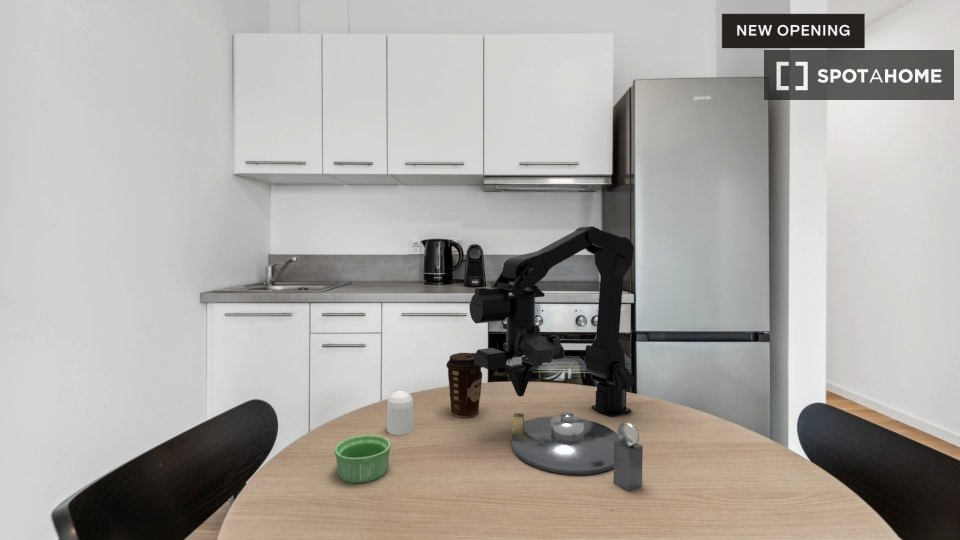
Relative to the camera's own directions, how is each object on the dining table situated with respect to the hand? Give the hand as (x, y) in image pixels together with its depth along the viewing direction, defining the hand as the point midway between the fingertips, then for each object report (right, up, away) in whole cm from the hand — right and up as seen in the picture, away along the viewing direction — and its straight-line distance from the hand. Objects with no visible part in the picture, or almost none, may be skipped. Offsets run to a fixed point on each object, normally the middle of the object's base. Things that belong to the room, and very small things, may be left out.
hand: (520, 396), depth 89 cm
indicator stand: (+15, -8, -20) cm, 27 cm away
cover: (+8, -5, -8) cm, 13 cm away
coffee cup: (-11, -7, +10) cm, 17 cm away
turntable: (+8, -7, -8) cm, 13 cm away
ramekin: (-28, -8, -16) cm, 33 cm away
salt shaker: (-24, -7, 0) cm, 25 cm away
